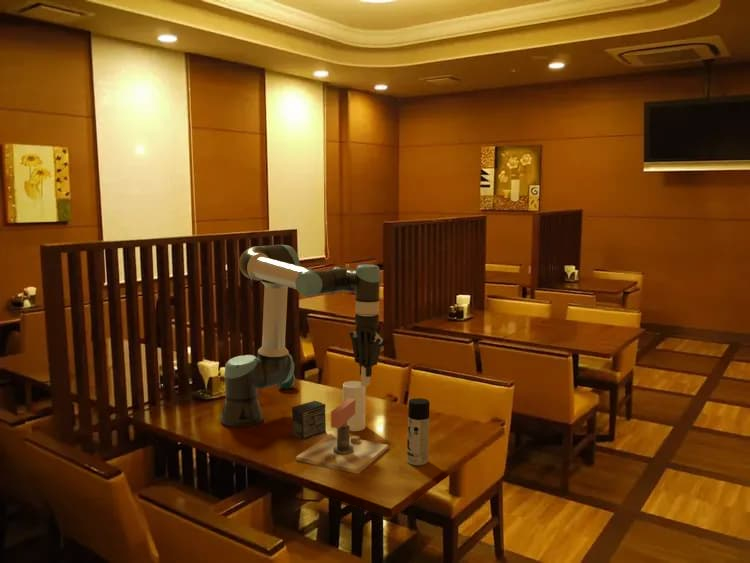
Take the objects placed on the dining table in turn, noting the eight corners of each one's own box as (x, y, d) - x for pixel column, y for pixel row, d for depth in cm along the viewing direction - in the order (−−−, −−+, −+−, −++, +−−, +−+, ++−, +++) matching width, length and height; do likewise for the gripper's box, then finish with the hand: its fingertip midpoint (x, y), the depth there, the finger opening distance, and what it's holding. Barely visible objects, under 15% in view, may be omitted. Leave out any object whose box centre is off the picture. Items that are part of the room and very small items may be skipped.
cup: (362, 432, 226) (362, 388, 224) (340, 430, 228) (340, 386, 226) (367, 424, 234) (367, 381, 232) (345, 422, 236) (345, 380, 234)
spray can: (405, 457, 205) (406, 397, 202) (426, 457, 206) (427, 397, 203) (408, 466, 199) (409, 404, 196) (429, 465, 199) (431, 404, 196)
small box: (314, 427, 230) (314, 399, 229) (326, 432, 225) (326, 404, 224) (291, 435, 223) (291, 406, 221) (302, 440, 218) (302, 411, 217)
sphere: (273, 390, 272) (273, 372, 271) (279, 384, 280) (279, 367, 278) (292, 391, 270) (291, 373, 269) (297, 386, 278) (297, 368, 277)
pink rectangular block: (338, 434, 199) (338, 412, 198) (331, 433, 200) (331, 411, 199) (355, 419, 212) (355, 399, 211) (348, 418, 213) (348, 398, 212)
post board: (296, 460, 202) (296, 432, 201) (330, 436, 222) (330, 411, 220) (358, 474, 193) (358, 445, 191) (388, 448, 212) (388, 421, 211)
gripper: (390, 315, 200) (388, 387, 204) (359, 309, 209) (358, 378, 212) (375, 318, 195) (373, 392, 198) (343, 312, 203) (342, 383, 206)
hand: (365, 385), depth 205 cm, fingers closed
